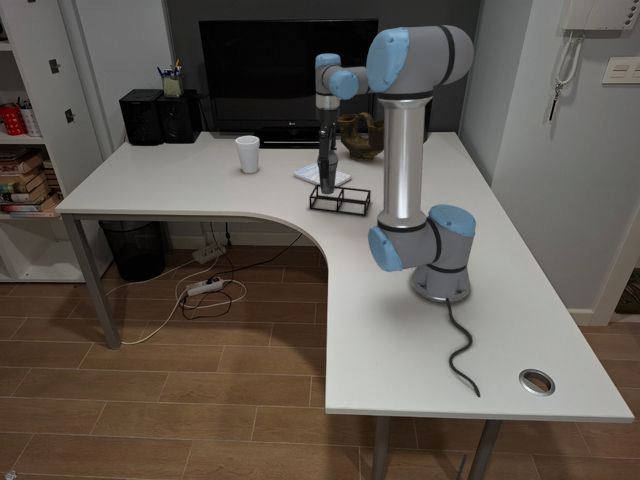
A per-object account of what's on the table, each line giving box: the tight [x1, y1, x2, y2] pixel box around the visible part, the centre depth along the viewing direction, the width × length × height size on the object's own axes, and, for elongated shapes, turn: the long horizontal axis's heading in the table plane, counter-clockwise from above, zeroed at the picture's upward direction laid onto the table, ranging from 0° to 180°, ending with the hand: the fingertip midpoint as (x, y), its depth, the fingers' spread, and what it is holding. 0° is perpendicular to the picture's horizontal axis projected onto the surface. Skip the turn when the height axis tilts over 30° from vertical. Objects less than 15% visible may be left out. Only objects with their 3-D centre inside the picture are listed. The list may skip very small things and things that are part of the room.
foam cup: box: [234, 135, 260, 174], centre depth 181 cm, size 10×9×13 cm
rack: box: [308, 184, 372, 217], centre depth 157 cm, size 10×20×5 cm, turn 76°
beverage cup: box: [316, 140, 339, 196], centre depth 151 cm, size 7×7×20 cm
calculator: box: [293, 162, 352, 187], centre depth 178 cm, size 13×20×2 cm, turn 49°
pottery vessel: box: [336, 111, 384, 162], centre depth 190 cm, size 25×11×20 cm, turn 54°
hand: (327, 173), depth 153 cm, fingers closed on beverage cup, 7 cm apart
